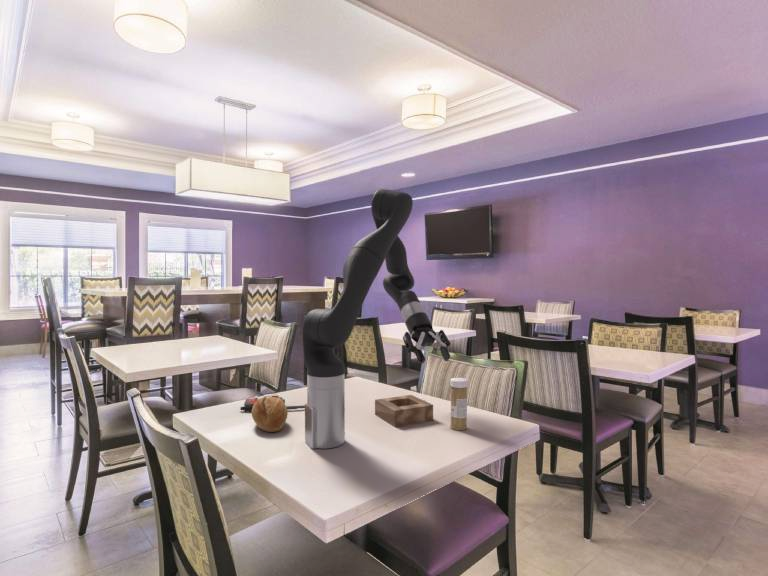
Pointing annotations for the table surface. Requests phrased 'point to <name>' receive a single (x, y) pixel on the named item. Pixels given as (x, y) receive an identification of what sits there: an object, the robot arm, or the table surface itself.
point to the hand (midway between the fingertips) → (435, 360)
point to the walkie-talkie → (250, 402)
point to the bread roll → (269, 413)
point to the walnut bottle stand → (403, 410)
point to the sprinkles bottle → (458, 403)
